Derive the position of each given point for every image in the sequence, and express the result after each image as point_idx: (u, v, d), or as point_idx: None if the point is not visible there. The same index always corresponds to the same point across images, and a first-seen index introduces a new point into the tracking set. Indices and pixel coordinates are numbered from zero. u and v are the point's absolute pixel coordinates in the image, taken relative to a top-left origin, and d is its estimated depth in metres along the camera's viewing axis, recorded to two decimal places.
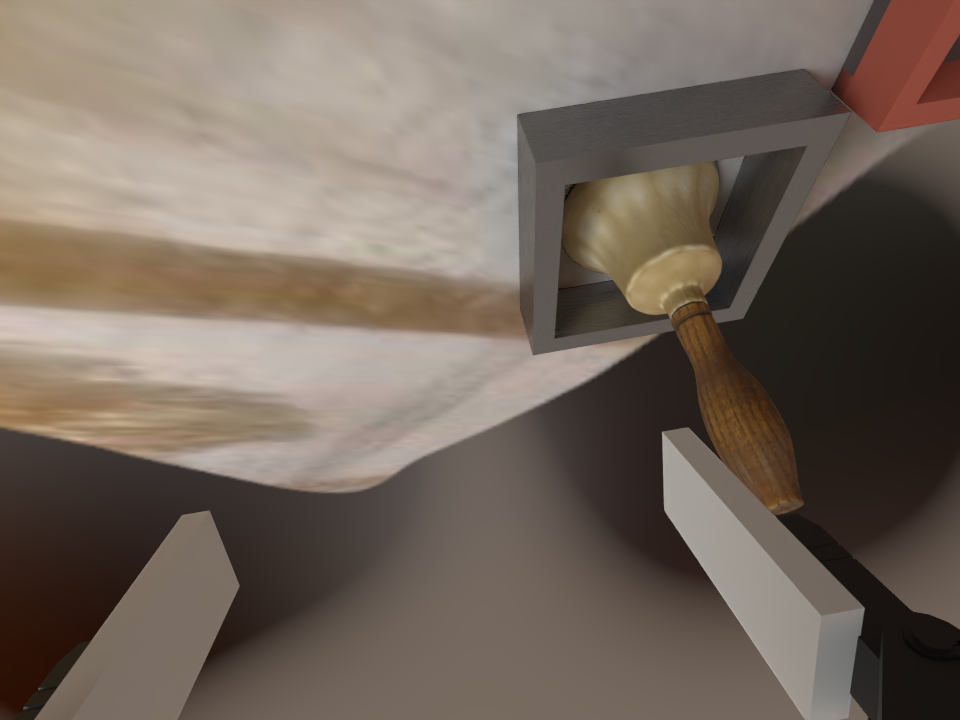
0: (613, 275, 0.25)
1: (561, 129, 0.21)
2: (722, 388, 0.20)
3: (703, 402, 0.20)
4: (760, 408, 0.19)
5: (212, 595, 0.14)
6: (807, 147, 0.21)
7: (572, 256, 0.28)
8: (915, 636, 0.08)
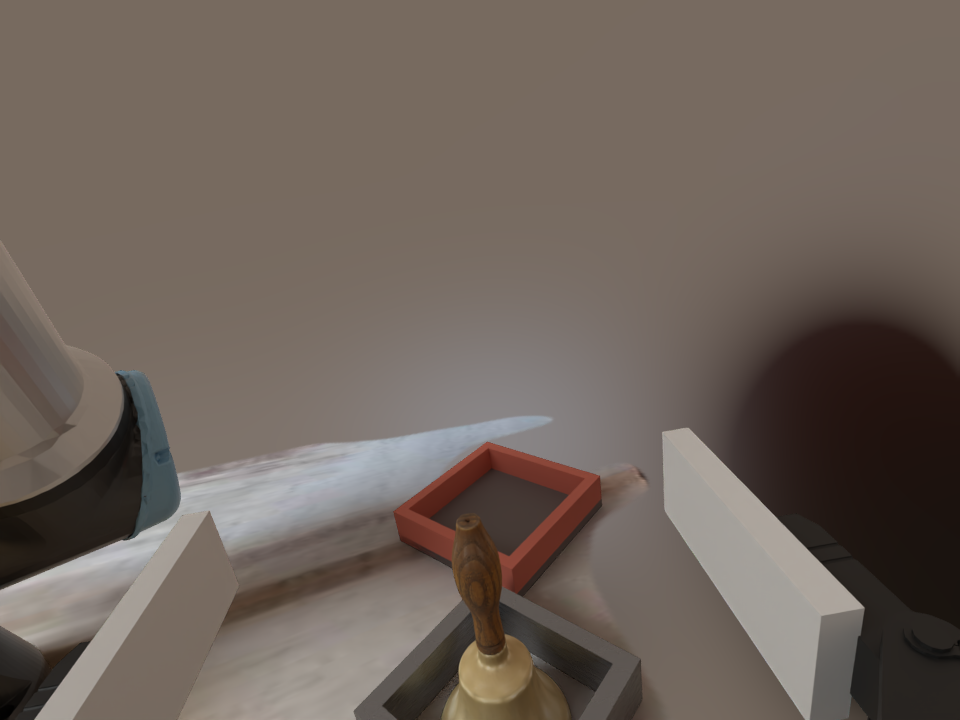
0: (479, 719, 0.29)
1: None
2: None
3: (463, 598, 0.28)
4: None
5: (212, 595, 0.14)
6: None
7: None
8: (915, 636, 0.08)
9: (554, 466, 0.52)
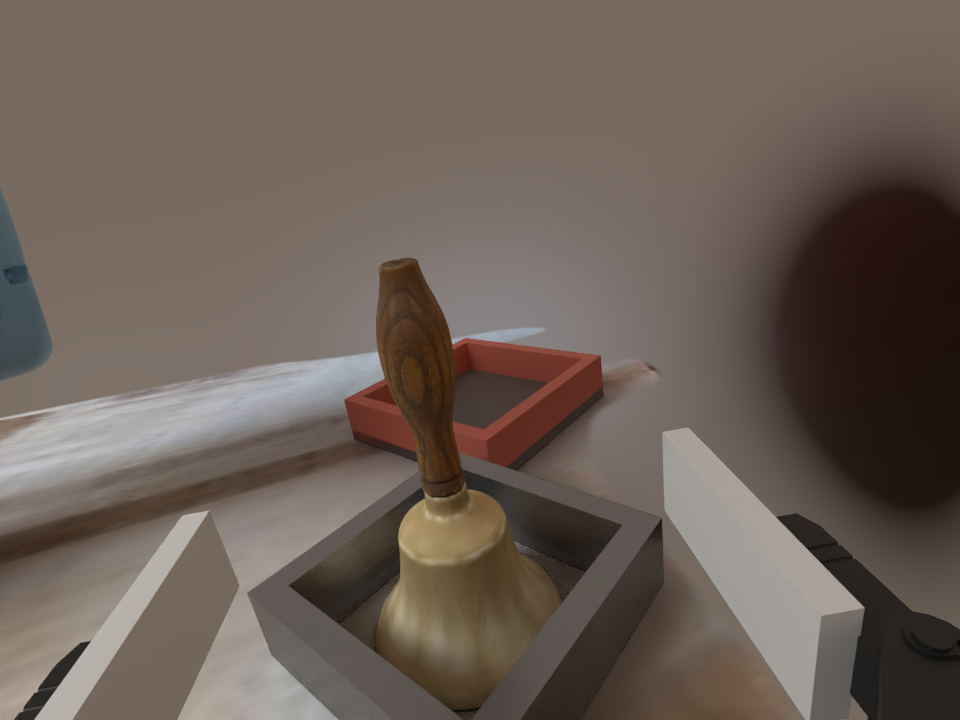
0: (425, 593, 0.20)
1: None
2: None
3: (395, 395, 0.18)
4: None
5: (212, 595, 0.14)
6: None
7: (445, 693, 0.19)
8: (915, 636, 0.08)
9: (544, 351, 0.43)
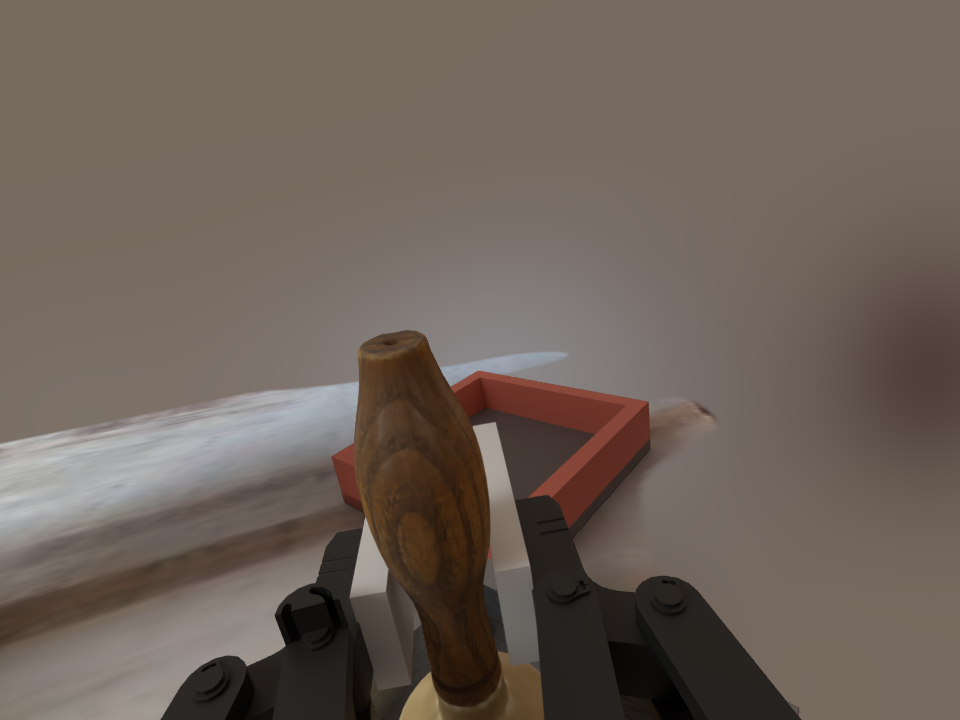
0: None
1: None
2: None
3: (387, 564, 0.11)
4: None
5: None
6: None
7: None
8: (554, 591, 0.10)
9: (577, 393, 0.35)
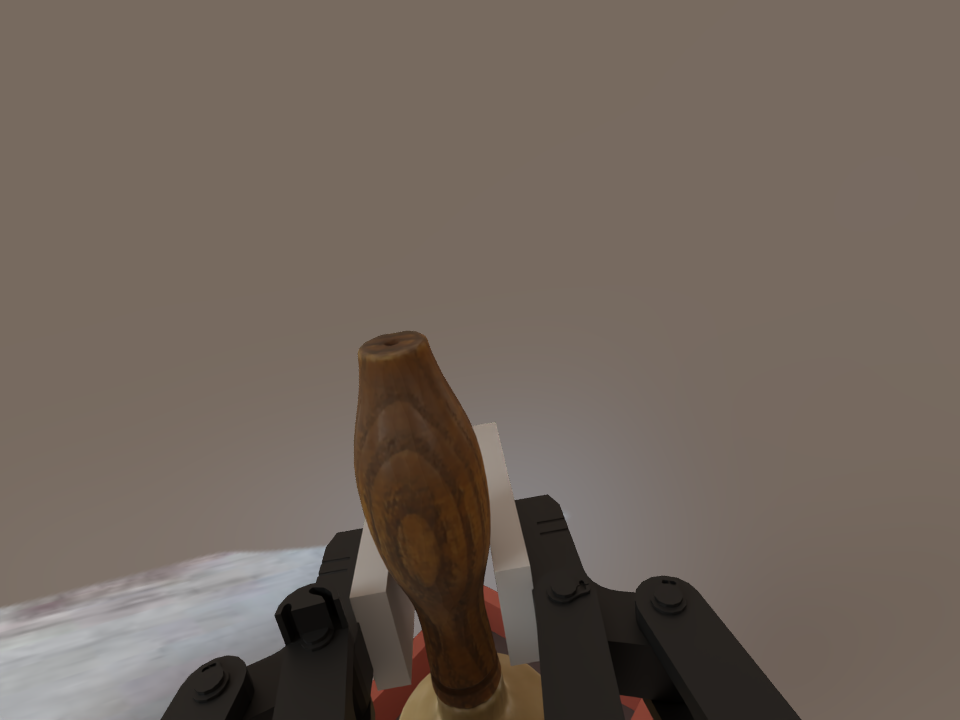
0: None
1: None
2: None
3: (387, 565, 0.10)
4: None
5: None
6: None
7: None
8: (554, 591, 0.10)
9: None
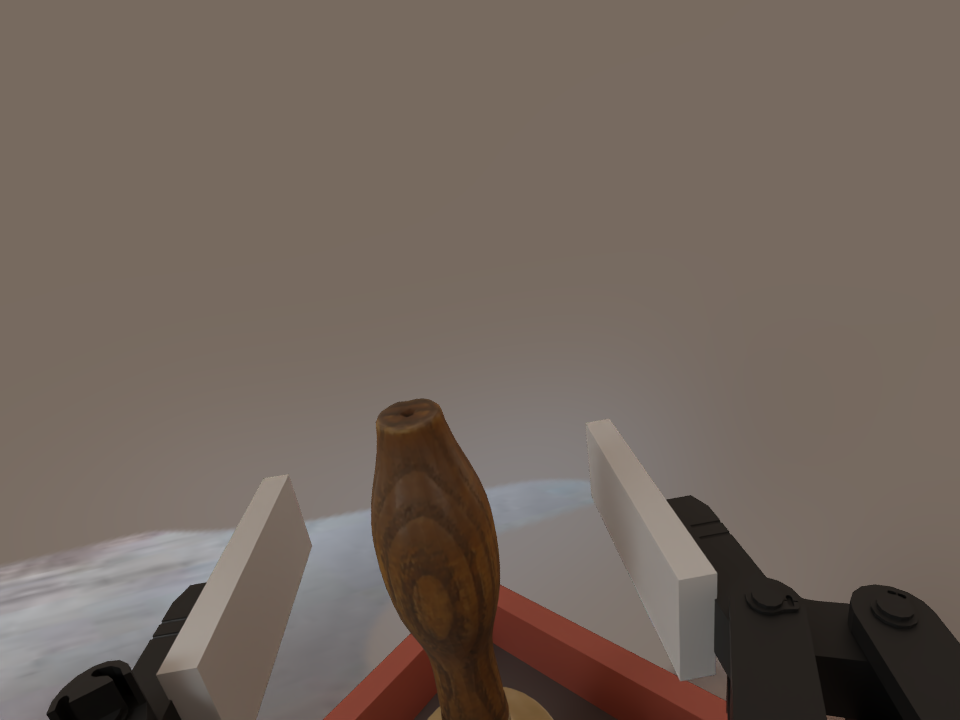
0: None
1: None
2: None
3: (402, 618, 0.11)
4: None
5: (294, 550, 0.15)
6: None
7: None
8: (754, 598, 0.09)
9: (666, 688, 0.18)
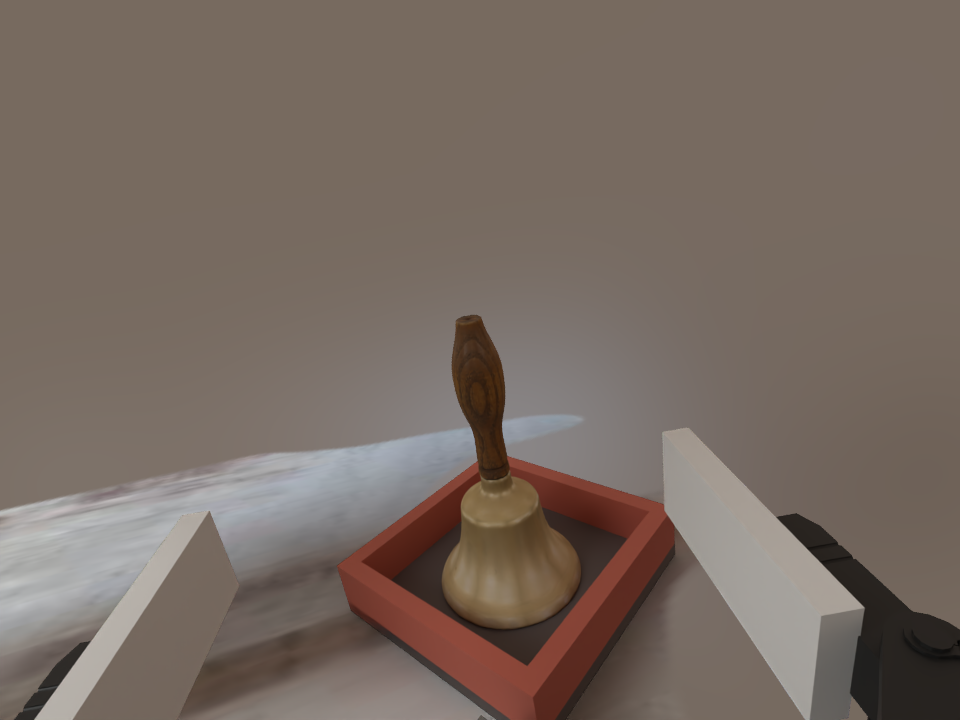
0: (482, 548, 0.28)
1: None
2: None
3: (464, 408, 0.26)
4: None
5: (212, 595, 0.14)
6: None
7: (497, 617, 0.27)
8: (915, 636, 0.08)
9: (596, 490, 0.33)
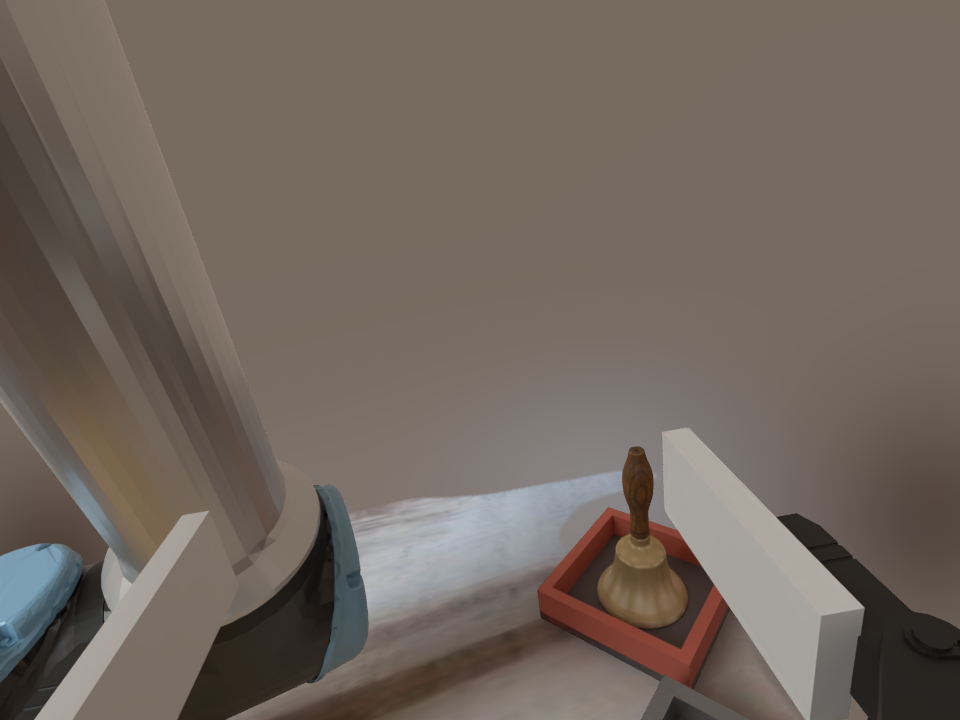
0: (634, 580, 0.47)
1: None
2: (624, 494, 0.46)
3: (630, 499, 0.45)
4: None
5: (212, 595, 0.14)
6: (675, 696, 0.38)
7: (645, 621, 0.46)
8: (915, 636, 0.08)
9: None
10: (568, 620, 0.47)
